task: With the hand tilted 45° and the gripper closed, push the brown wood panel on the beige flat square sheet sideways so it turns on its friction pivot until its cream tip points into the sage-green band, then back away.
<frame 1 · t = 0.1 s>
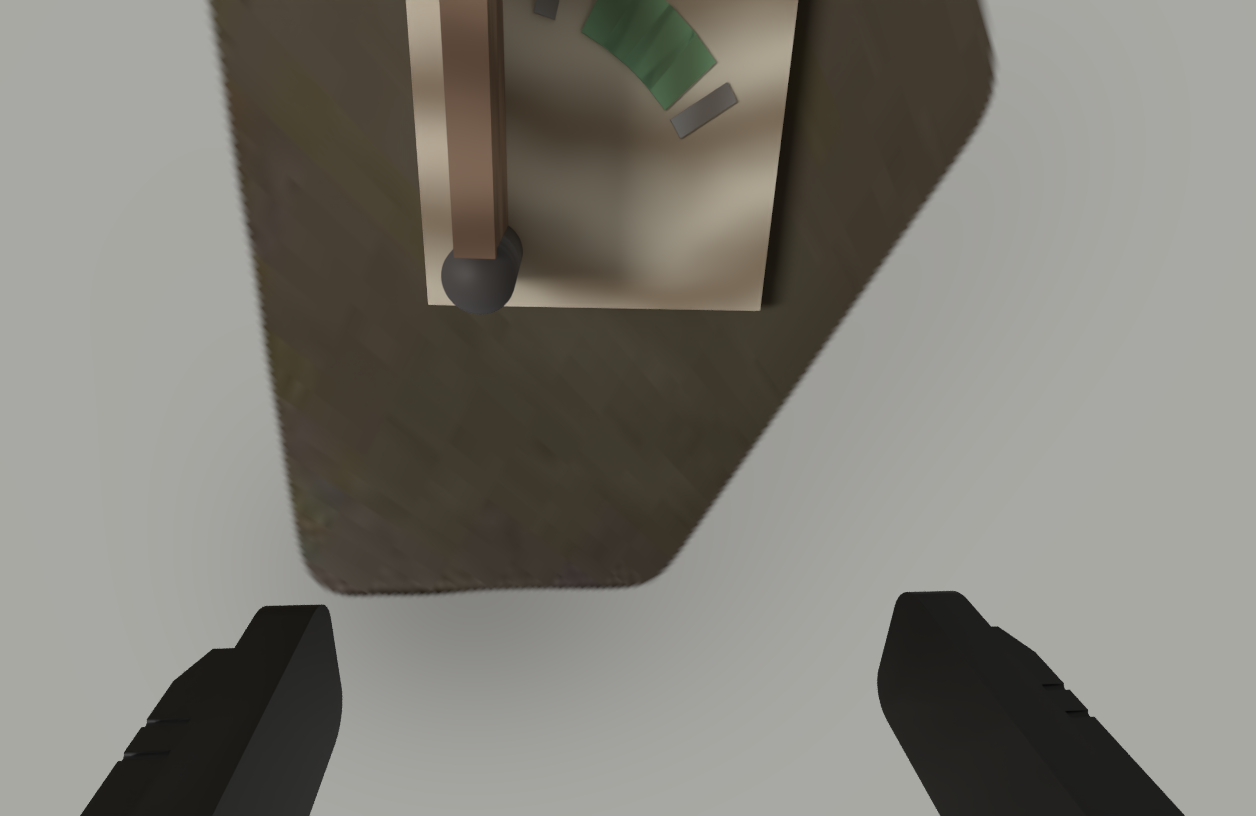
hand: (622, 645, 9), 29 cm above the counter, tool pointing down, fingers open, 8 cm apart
beige flat square sheet: (602, 117, 33), on the counter
brown wood panel: (478, 85, 27), point 6 cm above the counter, hinge at 0.0°
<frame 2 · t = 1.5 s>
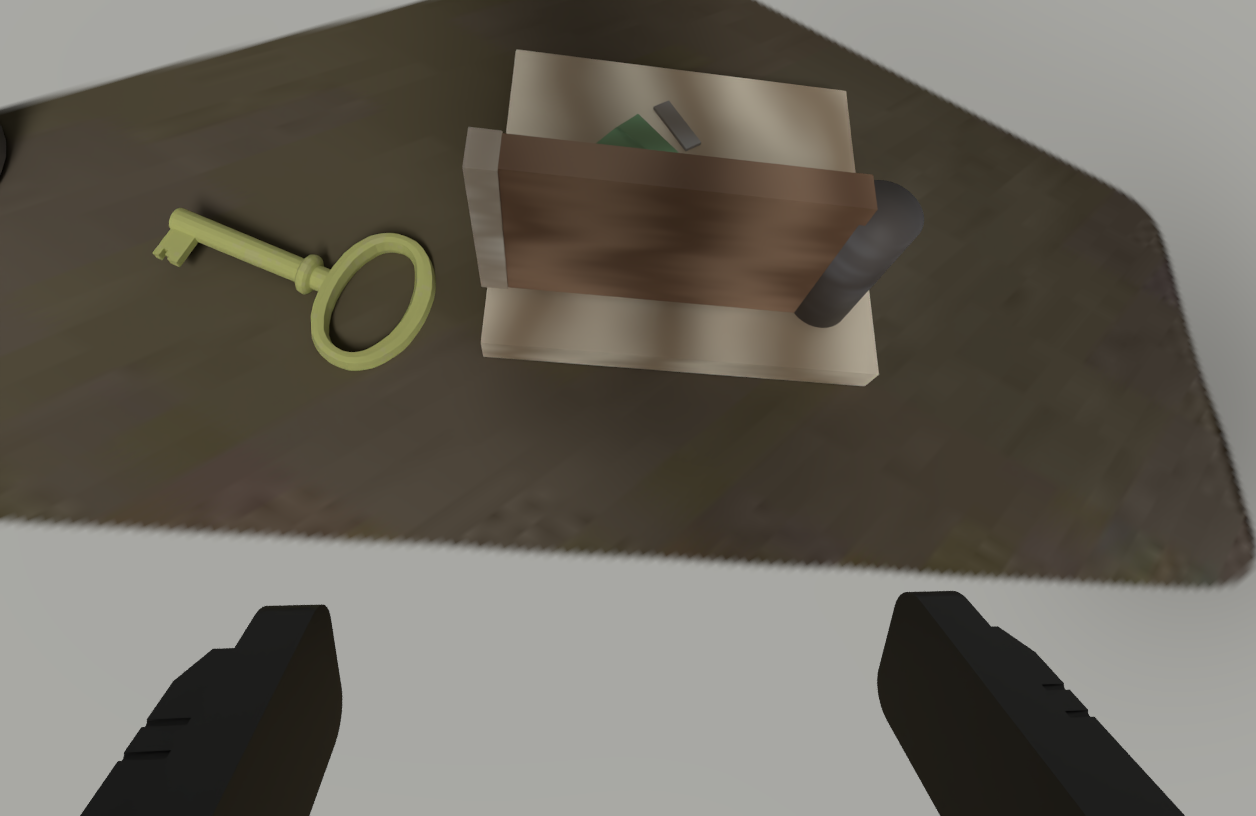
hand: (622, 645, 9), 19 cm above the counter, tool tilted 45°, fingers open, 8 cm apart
beige flat square sheet: (680, 219, 36), on the counter
brown wood panel: (688, 238, 28), point 6 cm above the counter, hinge at 0.0°
key: (317, 289, 32), on the counter
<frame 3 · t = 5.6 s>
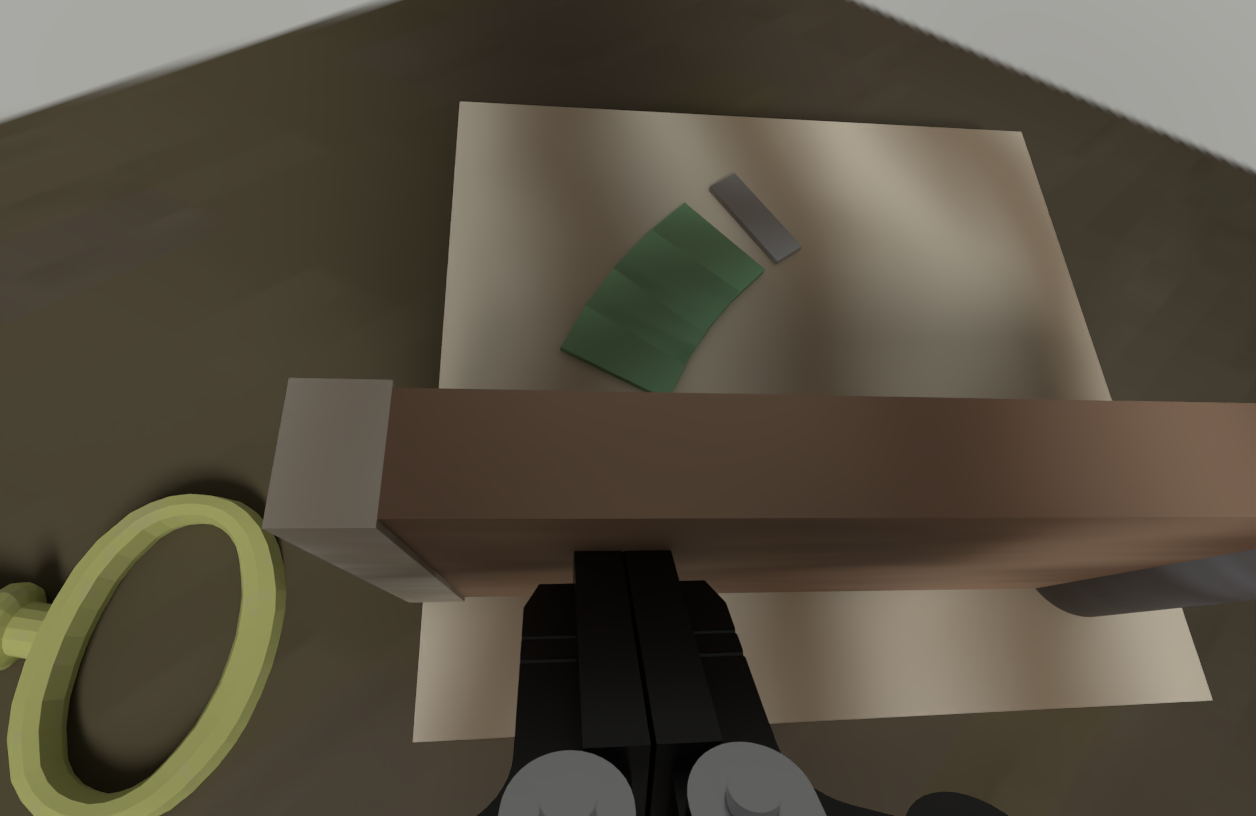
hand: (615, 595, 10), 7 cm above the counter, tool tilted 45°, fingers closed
beige flat square sheet: (773, 385, 20), on the counter
brown wood panel: (864, 522, 12), point 6 cm above the counter, hinge at -0.8°, touching gripper
key: (45, 633, 16), on the counter
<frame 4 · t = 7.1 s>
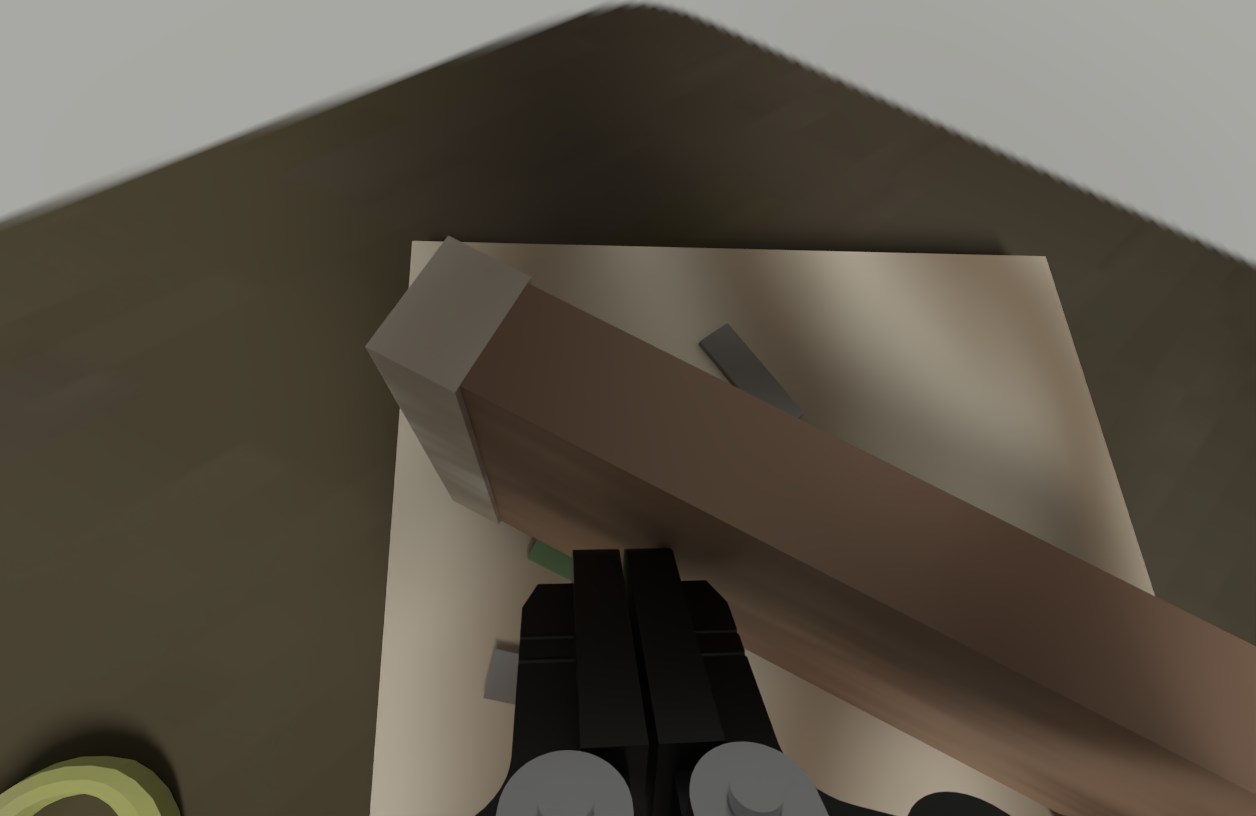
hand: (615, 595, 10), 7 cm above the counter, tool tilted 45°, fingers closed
beige flat square sheet: (772, 570, 17), on the counter
brown wood panel: (905, 640, 11), point 6 cm above the counter, hinge at -29.4°, touching gripper
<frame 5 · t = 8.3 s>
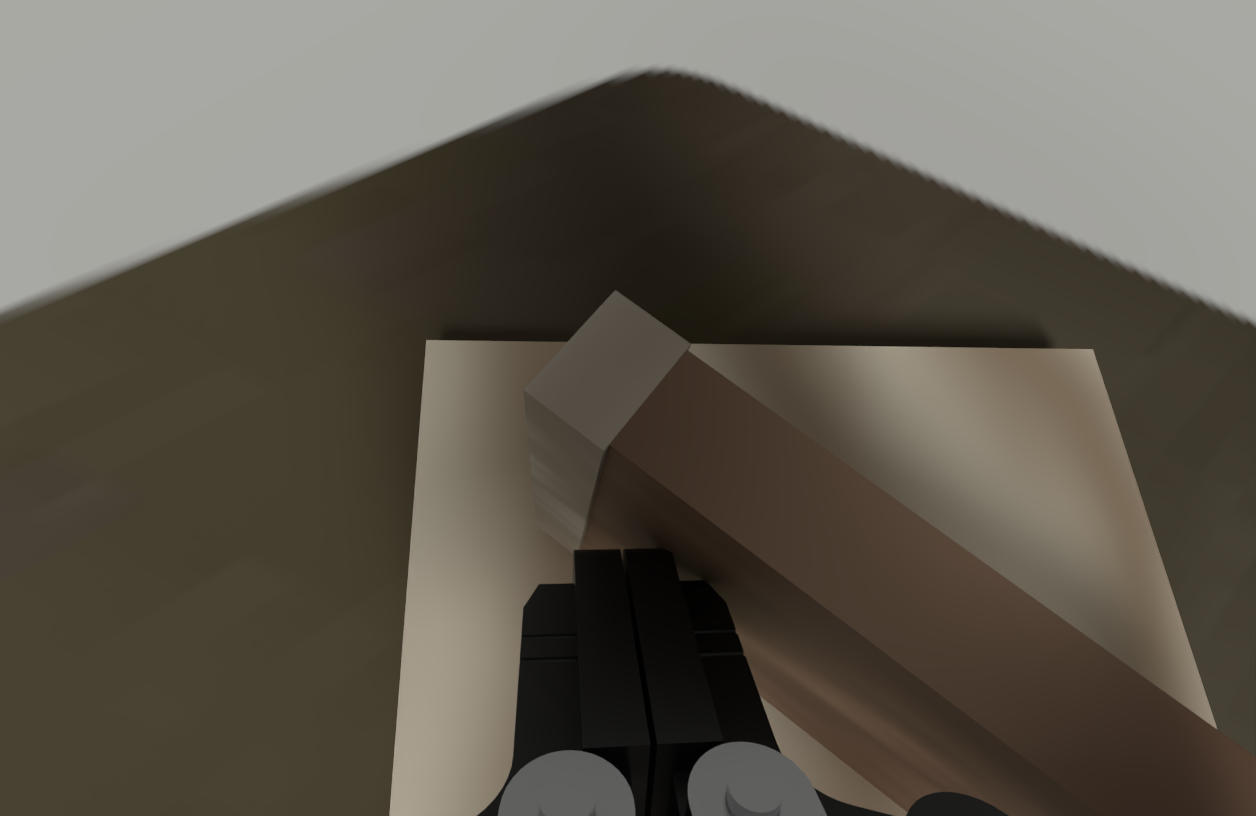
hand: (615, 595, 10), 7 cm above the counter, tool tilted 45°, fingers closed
beige flat square sheet: (805, 697, 16), on the counter
brown wood panel: (994, 769, 11), point 6 cm above the counter, hinge at -39.2°, touching gripper
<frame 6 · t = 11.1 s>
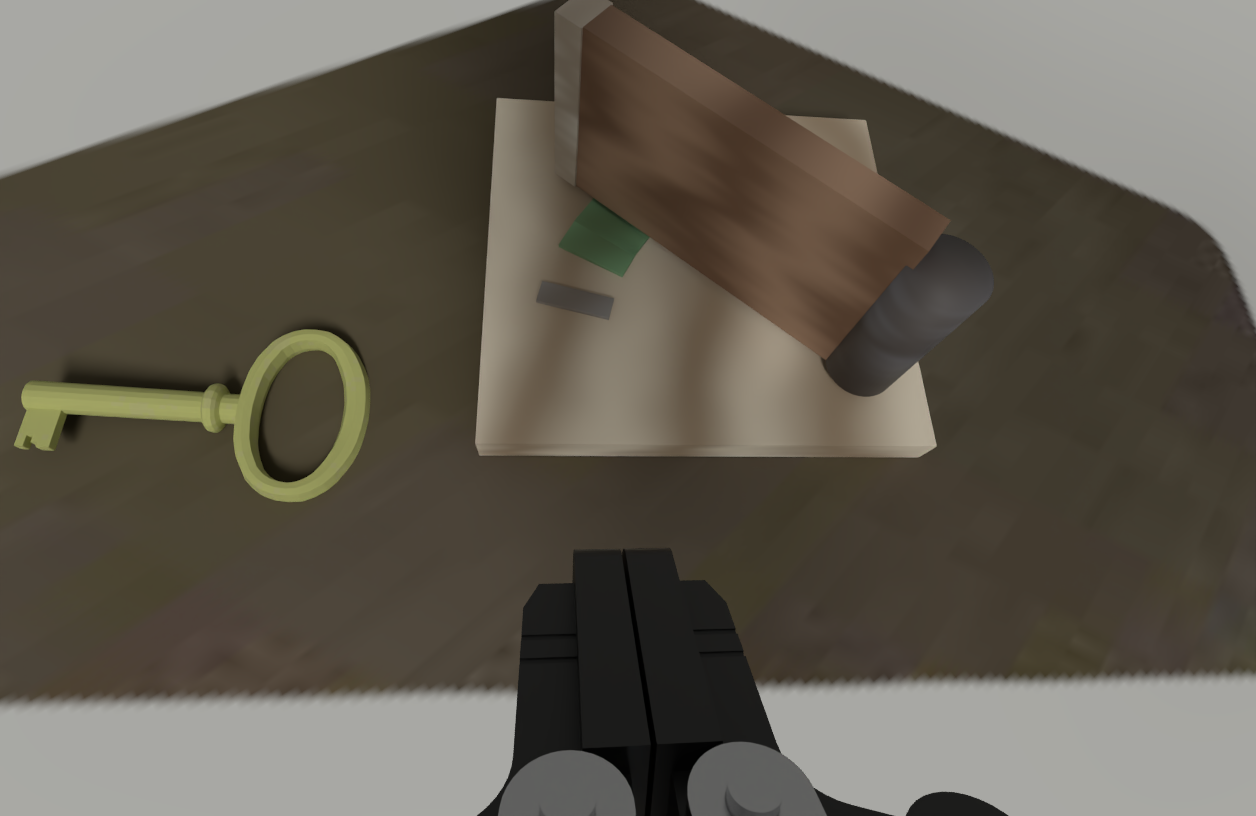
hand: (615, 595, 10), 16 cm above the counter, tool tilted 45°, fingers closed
beige flat square sheet: (692, 276, 31), on the counter
brown wood panel: (744, 209, 26), point 6 cm above the counter, hinge at -39.3°
key: (230, 420, 27), on the counter
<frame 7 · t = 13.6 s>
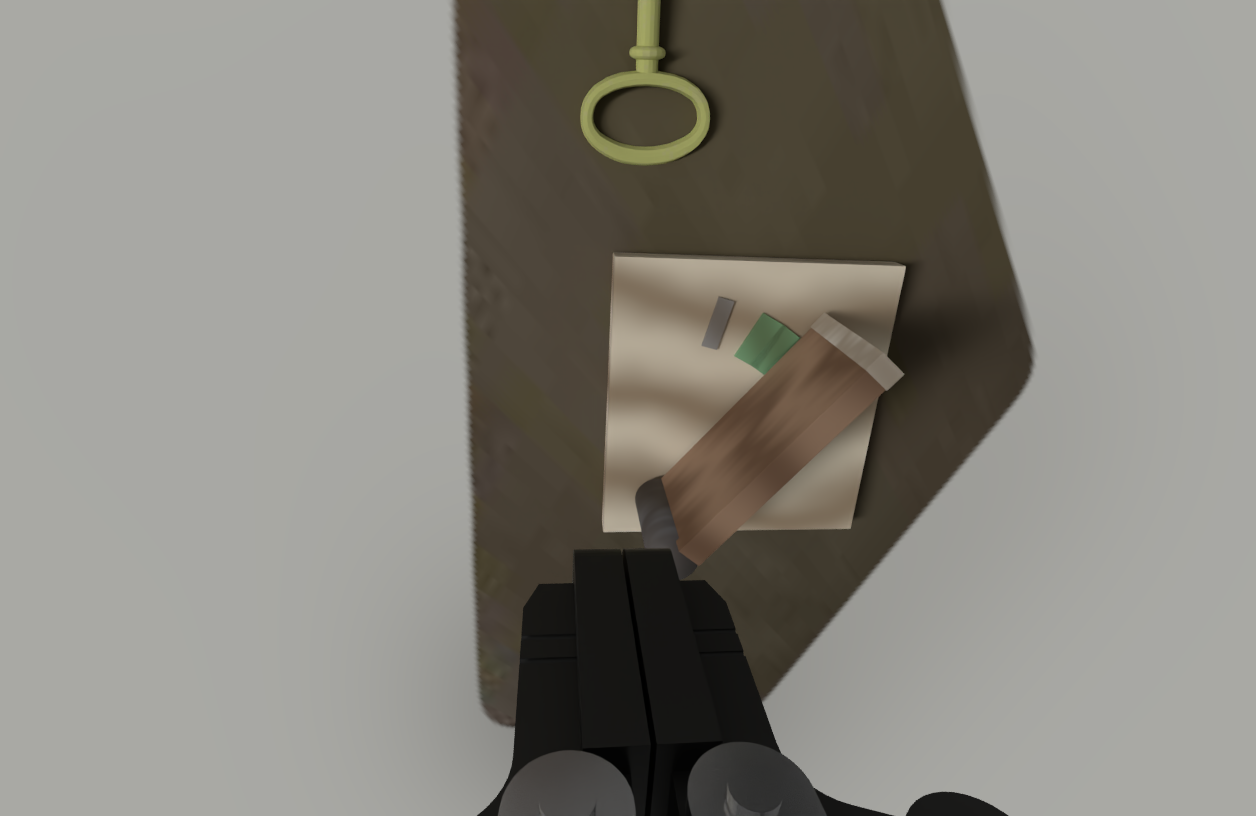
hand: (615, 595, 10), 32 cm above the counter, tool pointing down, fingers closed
beige flat square sheet: (739, 398, 45), on the counter
brown wood panel: (749, 448, 39), point 6 cm above the counter, hinge at -39.3°
key: (643, 55, 37), on the counter
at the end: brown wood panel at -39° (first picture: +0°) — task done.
